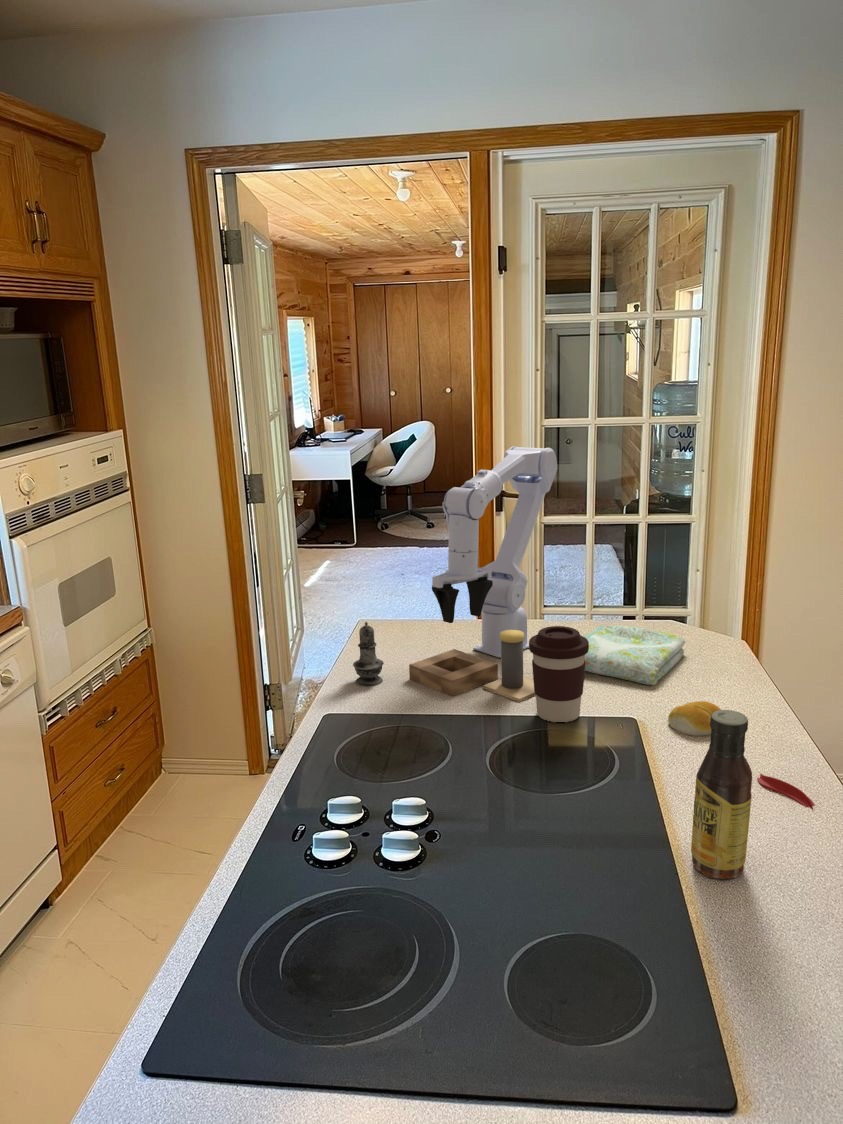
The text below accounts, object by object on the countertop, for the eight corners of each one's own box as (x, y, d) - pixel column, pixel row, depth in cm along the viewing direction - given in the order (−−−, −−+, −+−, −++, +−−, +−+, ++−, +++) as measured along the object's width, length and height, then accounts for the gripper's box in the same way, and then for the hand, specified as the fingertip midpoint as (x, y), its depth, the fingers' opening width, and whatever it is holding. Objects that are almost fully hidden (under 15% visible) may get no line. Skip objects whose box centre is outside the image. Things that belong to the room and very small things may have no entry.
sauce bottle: (682, 854, 105) (689, 704, 101) (731, 850, 106) (740, 701, 101) (703, 886, 99) (712, 728, 94) (755, 882, 100) (766, 724, 95)
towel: (687, 655, 174) (689, 631, 173) (653, 690, 157) (654, 664, 156) (603, 641, 184) (603, 618, 182) (562, 672, 167) (562, 648, 165)
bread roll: (735, 727, 140) (736, 704, 139) (699, 742, 135) (700, 718, 134) (694, 711, 147) (695, 689, 146) (658, 724, 142) (659, 702, 141)
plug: (505, 678, 162) (504, 628, 159) (527, 682, 160) (527, 631, 157) (497, 687, 158) (496, 636, 155) (519, 690, 156) (519, 638, 154)
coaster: (516, 675, 165) (516, 672, 165) (552, 687, 158) (552, 684, 158) (483, 688, 159) (483, 685, 159) (519, 701, 152) (519, 698, 152)
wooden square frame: (454, 663, 172) (454, 649, 172) (497, 678, 164) (497, 663, 163) (409, 679, 165) (409, 664, 164) (452, 696, 156) (452, 680, 155)
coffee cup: (593, 708, 149) (595, 626, 145) (579, 731, 140) (580, 644, 137) (539, 700, 153) (539, 620, 149) (521, 722, 144) (521, 637, 141)
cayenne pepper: (746, 775, 125) (747, 763, 125) (776, 772, 126) (777, 760, 125) (790, 818, 113) (791, 805, 113) (823, 815, 114) (824, 802, 114)
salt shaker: (386, 675, 167) (383, 616, 164) (382, 686, 162) (379, 626, 159) (356, 675, 168) (353, 616, 165) (351, 686, 162) (348, 626, 159)
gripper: (474, 543, 172) (472, 609, 174) (421, 551, 162) (420, 620, 165) (500, 548, 167) (498, 615, 169) (447, 556, 157) (446, 628, 160)
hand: (461, 618), depth 167 cm, fingers open, 7 cm apart
